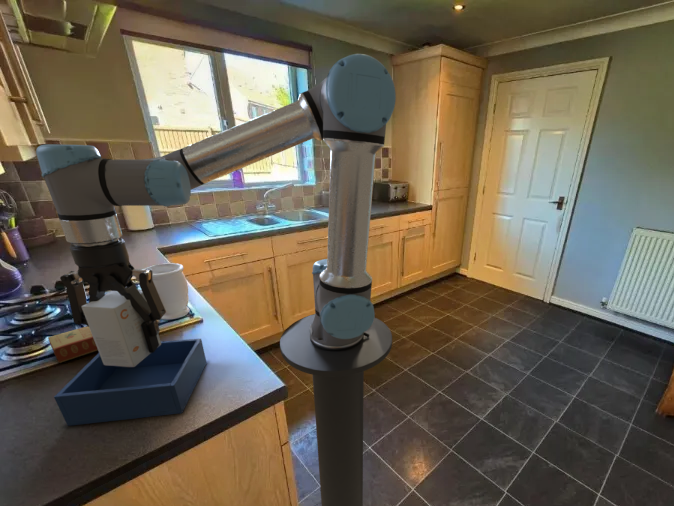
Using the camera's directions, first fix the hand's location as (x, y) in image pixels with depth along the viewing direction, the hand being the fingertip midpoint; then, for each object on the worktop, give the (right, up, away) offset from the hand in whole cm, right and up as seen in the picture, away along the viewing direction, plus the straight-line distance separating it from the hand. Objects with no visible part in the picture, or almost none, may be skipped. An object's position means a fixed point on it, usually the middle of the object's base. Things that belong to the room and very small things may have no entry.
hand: (132, 350), depth 66 cm
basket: (0, -9, +4) cm, 10 cm away
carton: (-24, -2, +19) cm, 31 cm away
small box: (0, -1, +1) cm, 1 cm away
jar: (-14, +4, +35) cm, 38 cm away
